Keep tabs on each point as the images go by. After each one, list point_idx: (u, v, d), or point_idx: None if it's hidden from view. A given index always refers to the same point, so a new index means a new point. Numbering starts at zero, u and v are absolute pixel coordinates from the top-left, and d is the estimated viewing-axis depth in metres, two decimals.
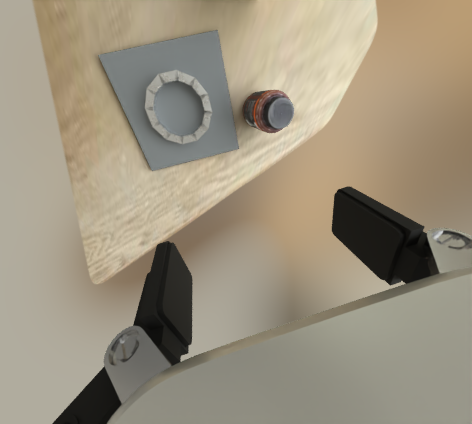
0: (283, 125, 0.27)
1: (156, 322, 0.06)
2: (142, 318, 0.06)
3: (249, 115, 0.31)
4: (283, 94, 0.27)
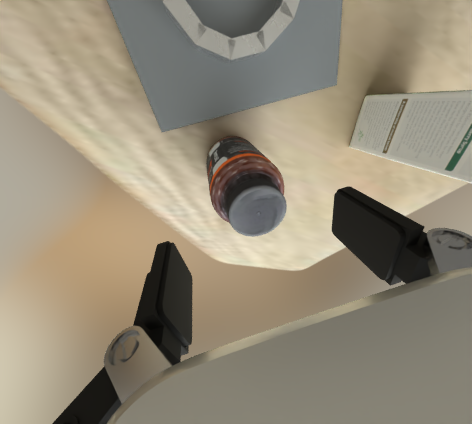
0: (235, 224, 0.12)
1: (156, 322, 0.06)
2: (142, 318, 0.06)
3: (233, 146, 0.16)
4: None
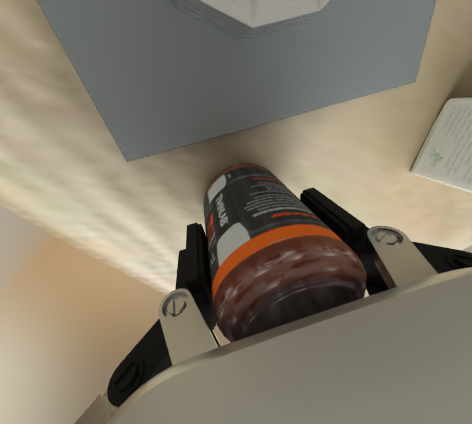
0: None
1: (198, 286, 0.07)
2: (187, 281, 0.07)
3: (254, 195, 0.08)
4: None
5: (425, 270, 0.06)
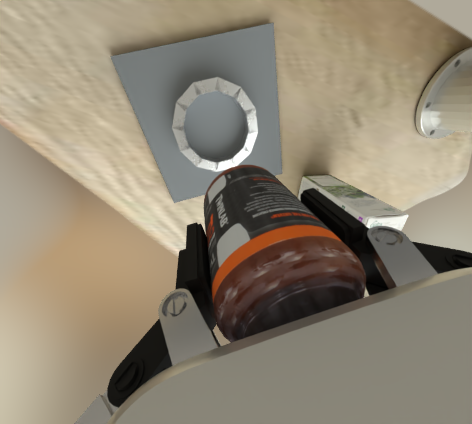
0: None
1: (198, 286, 0.07)
2: (187, 281, 0.07)
3: (253, 195, 0.08)
4: None
5: (425, 270, 0.06)
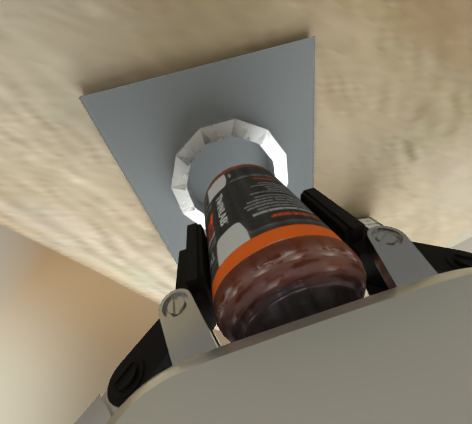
0: None
1: (198, 286, 0.07)
2: (187, 281, 0.07)
3: (253, 195, 0.08)
4: None
5: (425, 270, 0.06)
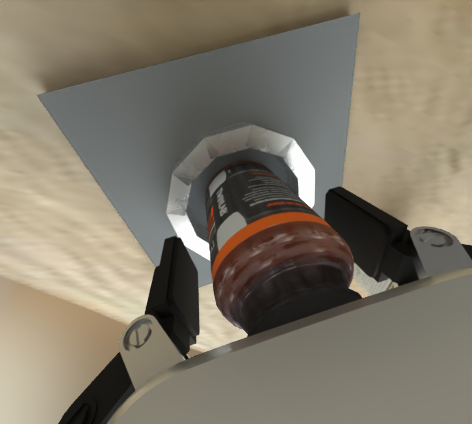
0: None
1: (167, 311, 0.07)
2: (154, 307, 0.06)
3: (251, 187, 0.09)
4: None
5: None
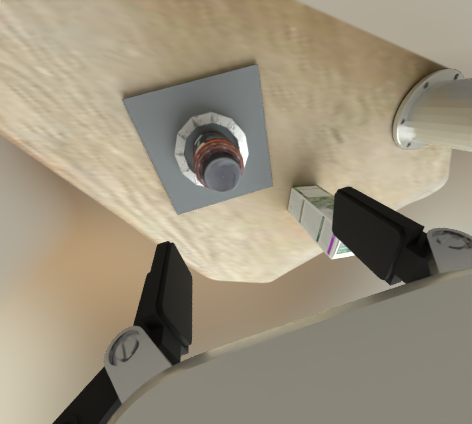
0: (209, 183, 0.19)
1: (156, 322, 0.06)
2: (142, 318, 0.06)
3: (210, 136, 0.23)
4: None
5: None
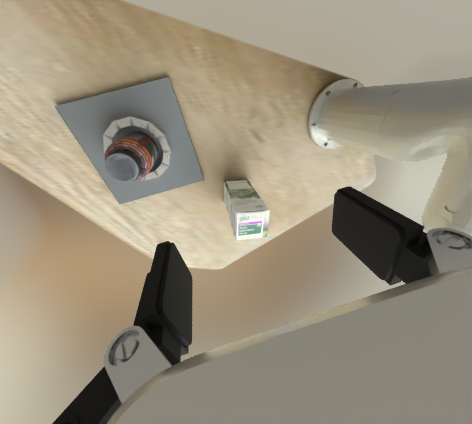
0: (110, 173, 0.24)
1: (156, 322, 0.06)
2: (142, 318, 0.06)
3: (124, 136, 0.28)
4: (146, 168, 0.27)
5: None
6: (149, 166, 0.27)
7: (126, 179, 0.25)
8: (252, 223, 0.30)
